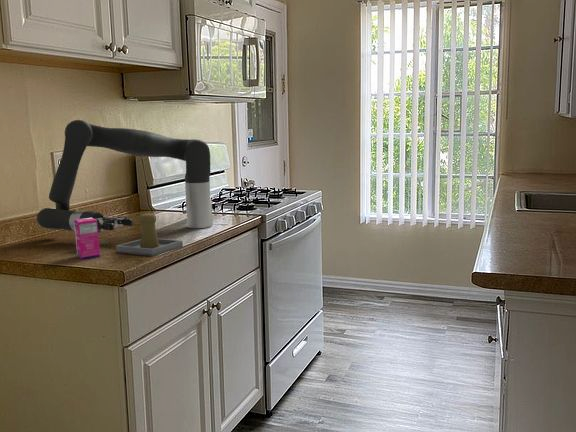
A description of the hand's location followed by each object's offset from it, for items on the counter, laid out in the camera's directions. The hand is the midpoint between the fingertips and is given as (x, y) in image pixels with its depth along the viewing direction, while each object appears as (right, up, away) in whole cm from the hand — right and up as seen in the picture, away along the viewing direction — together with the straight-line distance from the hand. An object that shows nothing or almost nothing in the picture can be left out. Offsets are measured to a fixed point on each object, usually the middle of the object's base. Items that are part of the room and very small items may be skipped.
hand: (122, 224), depth 194 cm
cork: (+10, -7, -4) cm, 13 cm away
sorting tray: (+10, -8, -4) cm, 13 cm away
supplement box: (-7, -10, -12) cm, 17 cm away
